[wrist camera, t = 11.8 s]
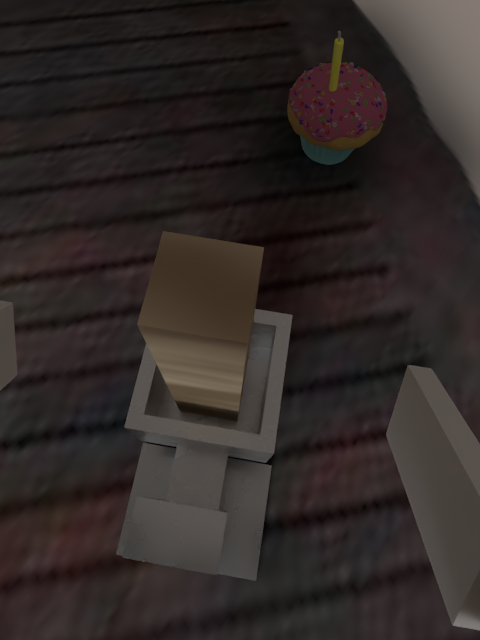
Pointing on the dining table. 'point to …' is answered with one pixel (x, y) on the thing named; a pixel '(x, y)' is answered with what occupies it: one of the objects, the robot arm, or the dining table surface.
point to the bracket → (206, 466)
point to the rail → (202, 320)
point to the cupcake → (336, 108)
